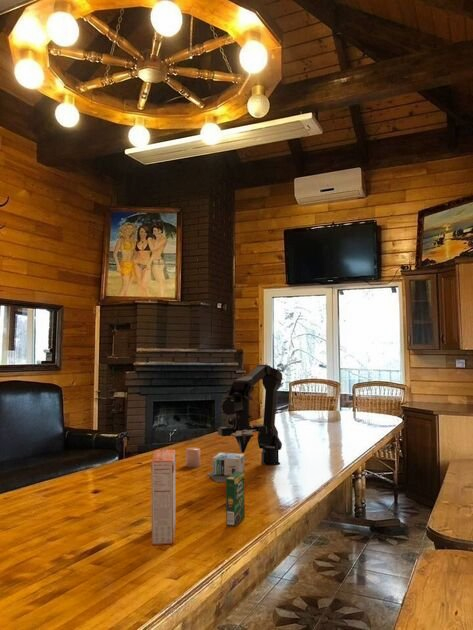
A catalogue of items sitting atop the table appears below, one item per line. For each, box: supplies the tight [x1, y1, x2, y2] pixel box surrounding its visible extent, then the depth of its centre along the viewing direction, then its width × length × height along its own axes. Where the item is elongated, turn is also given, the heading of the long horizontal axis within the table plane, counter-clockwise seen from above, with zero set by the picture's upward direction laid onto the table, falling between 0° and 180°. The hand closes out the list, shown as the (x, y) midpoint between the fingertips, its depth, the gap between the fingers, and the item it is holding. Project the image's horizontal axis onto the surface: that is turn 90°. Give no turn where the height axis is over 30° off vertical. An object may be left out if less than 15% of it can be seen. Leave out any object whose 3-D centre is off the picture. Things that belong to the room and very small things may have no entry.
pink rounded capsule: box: [185, 447, 201, 469], centre depth 205 cm, size 6×6×7 cm
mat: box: [206, 472, 246, 484], centre depth 186 cm, size 11×13×1 cm
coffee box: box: [225, 471, 246, 528], centre depth 138 cm, size 8×3×13 cm, turn 159°
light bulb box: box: [211, 452, 246, 476], centre depth 192 cm, size 11×7×11 cm
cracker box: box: [150, 449, 177, 546], centre depth 130 cm, size 14×6×21 cm, turn 5°
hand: (242, 452), depth 189 cm, fingers closed
